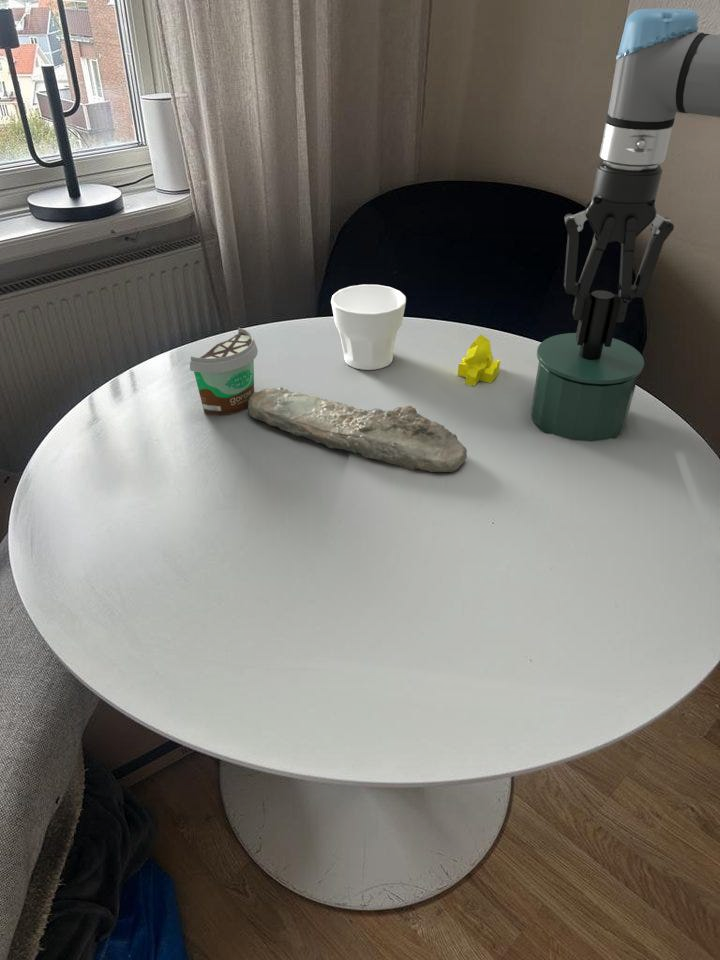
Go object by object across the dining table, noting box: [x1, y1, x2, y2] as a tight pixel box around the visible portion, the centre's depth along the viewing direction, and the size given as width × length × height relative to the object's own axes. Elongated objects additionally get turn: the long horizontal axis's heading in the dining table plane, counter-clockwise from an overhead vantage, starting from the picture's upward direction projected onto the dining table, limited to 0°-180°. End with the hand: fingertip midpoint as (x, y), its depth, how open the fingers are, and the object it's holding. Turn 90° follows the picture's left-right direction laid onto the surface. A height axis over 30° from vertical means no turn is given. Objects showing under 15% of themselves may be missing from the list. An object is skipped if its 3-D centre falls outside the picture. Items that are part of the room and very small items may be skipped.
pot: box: [530, 361, 639, 442], centre depth 104 cm, size 14×14×10 cm
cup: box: [330, 284, 407, 371], centre depth 119 cm, size 12×12×11 cm
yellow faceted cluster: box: [457, 333, 501, 387], centre depth 116 cm, size 6×8×8 cm
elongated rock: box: [248, 387, 468, 473], centre depth 102 cm, size 35×5×10 cm
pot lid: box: [536, 290, 645, 384], centre depth 98 cm, size 15×15×10 cm
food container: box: [189, 327, 259, 416], centre depth 108 cm, size 12×6×10 cm, turn 150°
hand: (592, 341), depth 99 cm, fingers closed on pot lid, 3 cm apart
